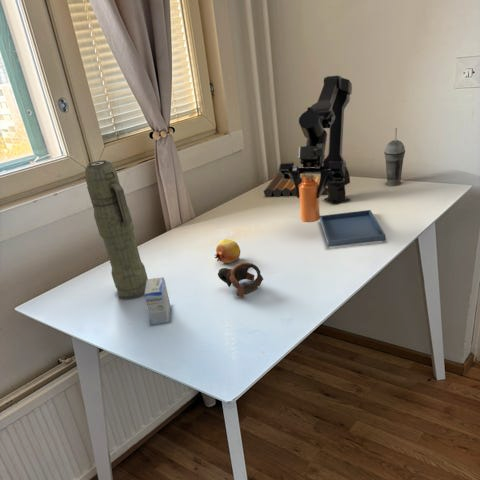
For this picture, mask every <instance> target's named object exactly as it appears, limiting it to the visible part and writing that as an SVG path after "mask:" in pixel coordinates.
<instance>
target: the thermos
mask: <svg viewBox="0 0 480 480" xmlns="http://www.w3.org/2000/svg"><path fill="white" fill-rule="evenodd" d="M84 169H85V172H84V173H85V174H84V177H85V178H84V179H85V183H86V188H87V191H88V195H89V199H90V201H91V205H92V208H93V217H94V220H95V221H94V222H95V224H96V227H97V230H98V234H99V236H100V237H101V239H102V241H103V244H104V247H105V250H106V253H107V257H108V259H109V264H110V266H111V277H112V281H113V283H114V287H115V288H116V290H117V294H118V296H119V297H120V298H121V299H124V300H126V299H128V300H130V299H131V300H132V299H134V298H135V299H136V298H139V297H141V296H144V292H145V287H146V281H147V280H148V279H149V278H148V274H147V270H146V267H145V264H144V263H143V262H142V259H141V256H140V252H139V248H138V245H137V240H136V237H135V233H134V228H135V227H134V222H133V218H132V215H131V211H130V208H129V207H128V203H127V198H126V195H125V191H124V188H123V187H122V185H121V183H120V180H119V176H118V173H117V170H116V169H115V167H114V166H113V164H112V162H111V161H108V160H106V159H105V160H103V159H102V160H96V161H92V162H90V163H87V165H86V166H85V168H84Z"/></svg>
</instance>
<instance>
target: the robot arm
mask: <svg viewBox="0 0 480 480" xmlns="http://www.w3.org/2000/svg"><path fill="white" fill-rule="evenodd" d="M352 93H353V85H352V82H351V81H350V79H347V78H344V77H342V76H341V75H338V74H337V75H327V76H325V77H324V78H323V86H322V88H321V91H320V93H319V97H318V100H317V102H316V103H314V104H312V105H311V106H308V107H307V108H306V110H305V111H303V112H302V113H301V115H300V116H299V118H298V125H299V127H300V129H301V132H302V134H303V136H304V137H305V139H306V143H305V145H303V146H298V153H297V154H298V155H297V157H298V158H297V159H298V160H300V161H299V163H300V164H301V165H302V166H298V165H295V163H294V162H293V161H289V162H281V163H280V164H279V166H278V172H280V174H281V176H282V177H283V179H285V180H292V181H293V182H294V184H295V190H296V195H297V196H296V198H297V199H299V184H301V182H302V179H301V177H300V176H301V175H302V174H320V182H319V186H318V190H317V198H319V199H320V197H321V196H322V195H321V194H322V192H323V191H324V190H325V188H326V187H327V186H328V193H327V197H324V198H323V201H325V202H327V203H330V204H332V205H337V204H339V203H343V202H346V201H349V200H350V199H349V197H346V186H347V185H348V184H351V177H350V172H349V169H348V167H347V162H346V160H345V158H344V156H343V138H344V121H345V119H344V118H345V109H346V107H347V106H348V104H349V103H350V99H351V95H352ZM325 129H329V135H328V132H327V131H326V130H325ZM327 141H328V154H327V156H326V155H325V152H326V147H327V146H326V145H327Z"/></svg>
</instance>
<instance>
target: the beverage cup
mask: <svg viewBox="0 0 480 480" xmlns="http://www.w3.org/2000/svg"><path fill="white" fill-rule="evenodd" d="M394 132H395V133H394V139H393V140H391V141H389V142H388V143H386V146H385V148H384V159H385V170H386V183H387V185H388V186H391V187H392V186H399V185H401V179H402V174H403V173H402V172H403V164H404V158H405V154H406V148H405V145H404V143H403V142H402V141H401V140H399V139H397V137H398V136H397V134H398V128H397V127H395V128H394Z"/></svg>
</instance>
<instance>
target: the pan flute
mask: <svg viewBox="0 0 480 480" xmlns="http://www.w3.org/2000/svg"><path fill="white" fill-rule="evenodd" d="M303 175H306V174H300V177H301V179H302V181H303V177H302V176H303ZM320 177H321V175H318V176H317V177H316V176H314V175H313V180H315V182H317V183H318V186H319V182H320ZM263 194H264V197H266V198H269V197H270V198H271V197H272V196H274V197H281V196H283V197H290V196H291V195H292V197H297V195H296V190H295V184H294V182H293V181H292V180H285V179H283V177H282V176H281V174H280V172H279V171H278V172H277V173H276V174H275V176H274V177H273V179H271V181H270V182H269V184H268V185H267V186H266V187H265V189H264V190H263ZM325 195H327V196H328V186H327V187H326V188H325V190H324V191H323V192H322V194H321V196H325Z"/></svg>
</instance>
